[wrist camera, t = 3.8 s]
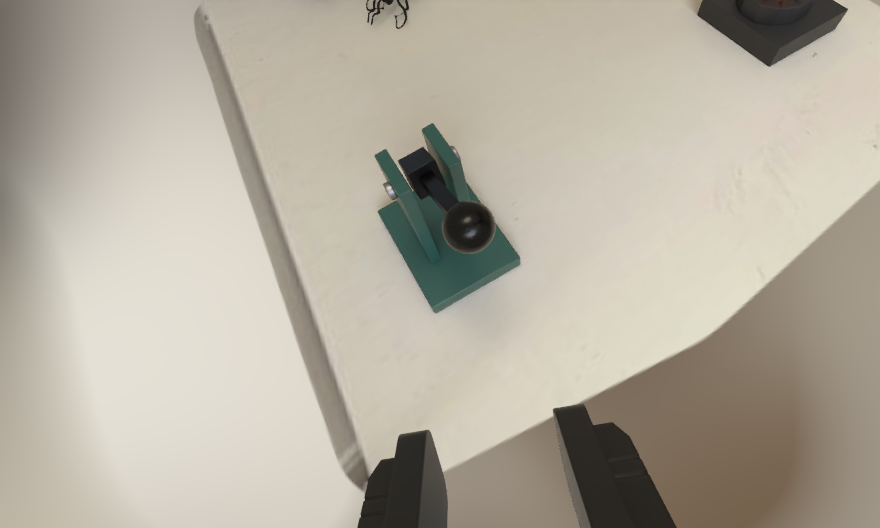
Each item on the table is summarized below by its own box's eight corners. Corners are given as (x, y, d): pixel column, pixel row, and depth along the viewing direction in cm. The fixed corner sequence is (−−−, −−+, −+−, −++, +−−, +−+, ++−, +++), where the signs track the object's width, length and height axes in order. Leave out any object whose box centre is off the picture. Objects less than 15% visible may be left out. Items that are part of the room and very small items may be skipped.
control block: (835, 29, 46) (860, -9, 42) (768, 66, 45) (788, 32, 42) (757, -19, 50) (774, -57, 47) (697, 15, 50) (709, -21, 46)
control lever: (511, 246, 27) (495, 204, 25) (464, 273, 27) (445, 233, 25) (441, 173, 36) (426, 138, 34) (407, 193, 36) (389, 159, 34)
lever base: (520, 264, 42) (515, 184, 30) (435, 313, 41) (396, 252, 30) (457, 175, 47) (432, 79, 36) (381, 218, 47) (331, 135, 35)
